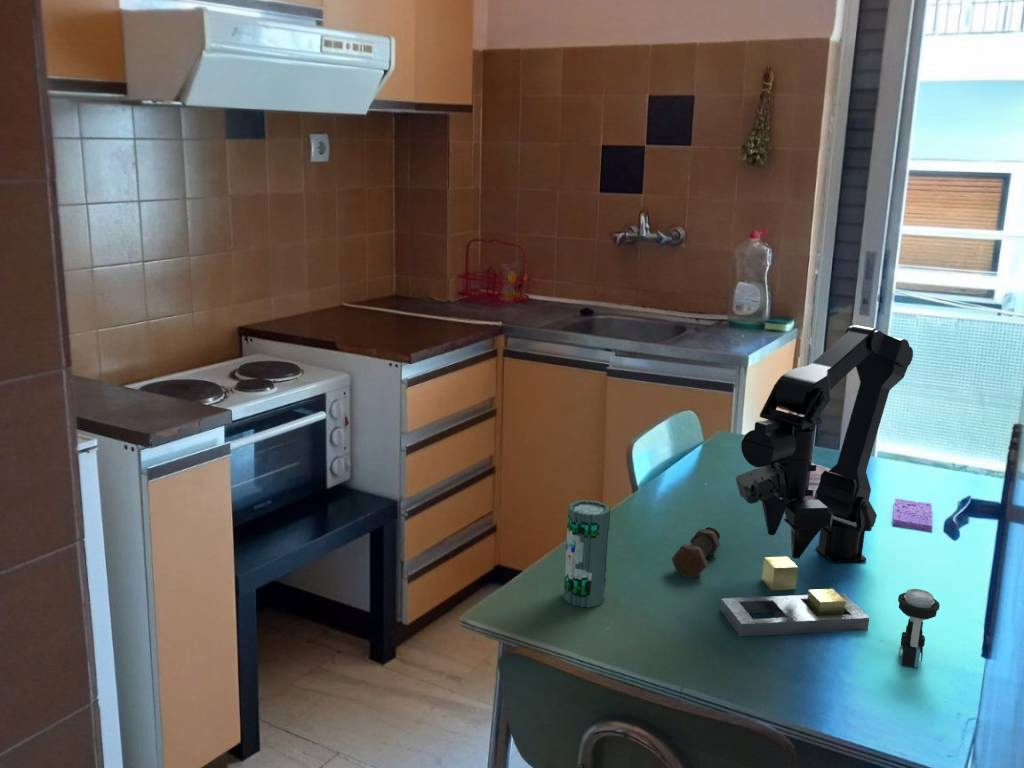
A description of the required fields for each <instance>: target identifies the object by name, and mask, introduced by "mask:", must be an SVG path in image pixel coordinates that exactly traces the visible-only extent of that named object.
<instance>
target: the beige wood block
mask: <svg viewBox="0 0 1024 768" xmlns="http://www.w3.org/2000/svg"><path fill="white" fill-rule="evenodd" d="M763 558H764V560H763V565H762V575H761V580H762V582H764V583H765V584H766V586H767V587H768V588H769V589H770V590H771V591H786V590H787V591H788V590H790V591H792V590H796V586H797V577H798V570H799V569H798V568H799V567H798V566H797V565H796V563H795V562H794V561H793V560H791V558H789V557H788V556H771V557H770V556H769V557H768V556H766V557H763Z"/></svg>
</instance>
